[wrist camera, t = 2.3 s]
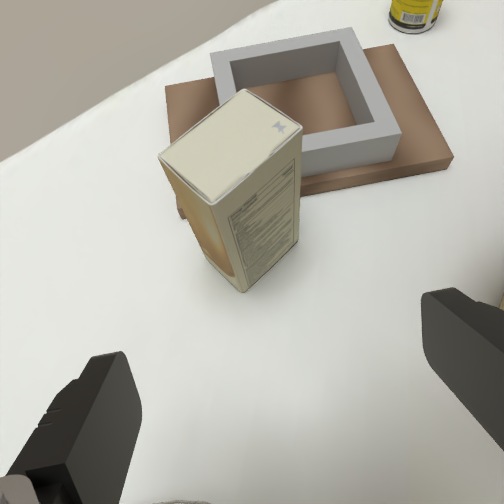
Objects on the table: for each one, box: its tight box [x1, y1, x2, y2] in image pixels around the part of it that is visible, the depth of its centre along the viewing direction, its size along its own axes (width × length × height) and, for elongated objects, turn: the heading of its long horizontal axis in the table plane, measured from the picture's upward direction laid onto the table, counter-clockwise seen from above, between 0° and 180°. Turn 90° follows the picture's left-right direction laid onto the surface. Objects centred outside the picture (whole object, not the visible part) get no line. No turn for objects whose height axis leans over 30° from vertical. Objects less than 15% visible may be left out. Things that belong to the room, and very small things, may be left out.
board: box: [165, 44, 454, 219], centre depth 34 cm, size 22×14×2 cm, turn 100°
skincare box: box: [158, 89, 303, 292], centre depth 24 cm, size 6×4×12 cm
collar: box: [210, 27, 402, 178], centre depth 32 cm, size 12×12×3 cm
